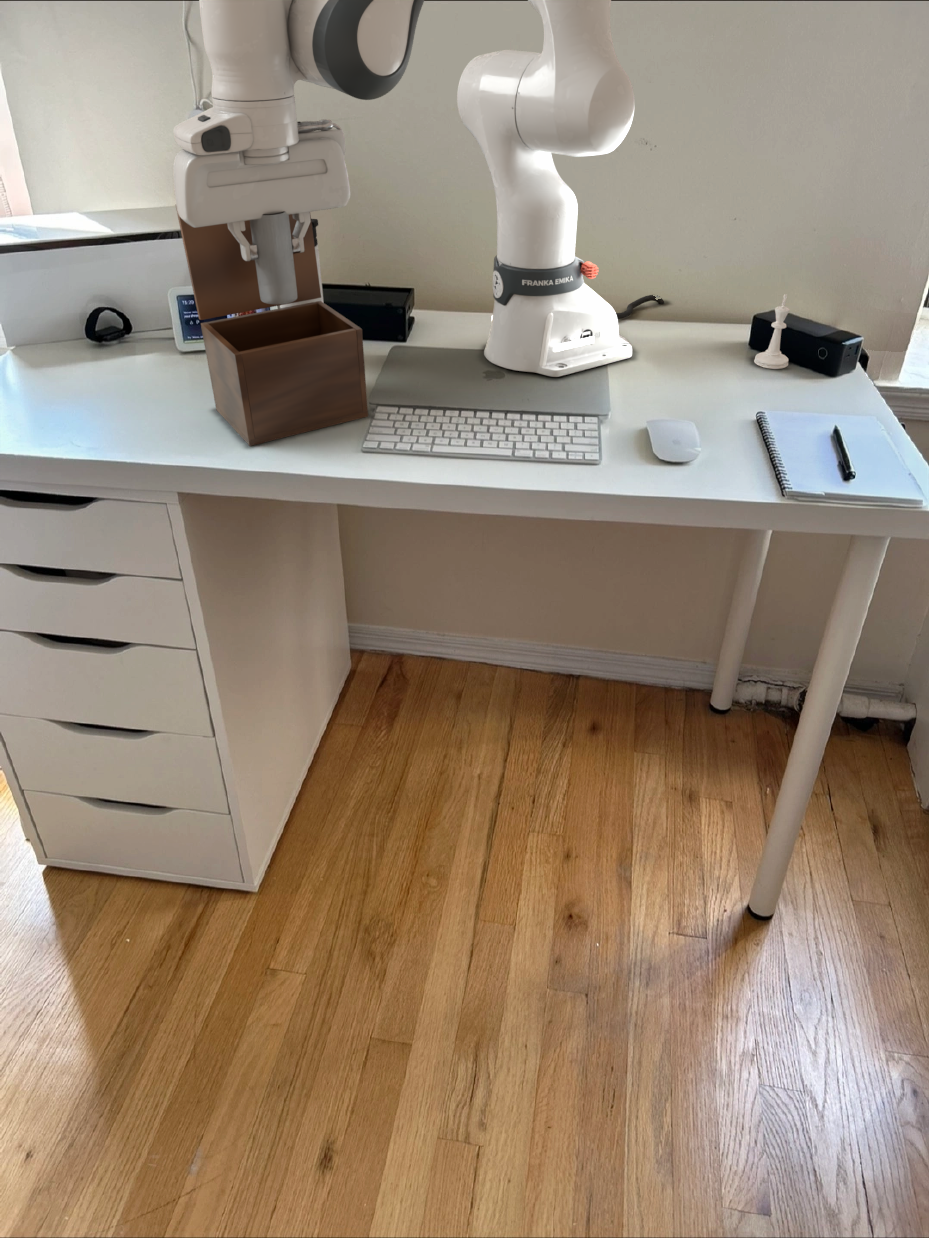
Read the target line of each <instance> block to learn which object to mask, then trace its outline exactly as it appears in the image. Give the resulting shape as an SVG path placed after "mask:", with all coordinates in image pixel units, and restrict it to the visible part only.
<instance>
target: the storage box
mask: <svg viewBox="0 0 929 1238" xmlns="http://www.w3.org/2000/svg"><path fill="white" fill-rule="evenodd" d="M200 327H201V328H200V329H201V333H202V334H201V335H202V339H203V344H204V350H205V356H206V361H207V367H208V372H209V377H210V383H211V389H212V394H213V400H214V405H215V410H216V411H217V413H219V415H220V416H222V418H223V419H224V420H225V421H226V422H227V423H228V425H230V426H231V428H232V429H233V430H234V431H235V432H236V433H237V434H238V436H240V438H241V439H243V440H244V441H245V443H246V444H247V445H248V446H249V447H252V446H256V445H261V444H264V443H269V442H272V441H276V440H280V439H283V438H287V437H291V436H296V435H300V434H304V433H307V432H312V431H315V430H320V429H325V428H327V427H332V426H335V425H336V426H337V425H339V424H343V423H347V422H352V421H355V420H360V419H363V418H367V417H369V410H368V409H369V408H368V407H369V406H368V395H367V382H366V381H367V380H366V379H367V378H366V367H365V353H364V339H363V329H362V328H361V327H360V326H358V325H357V324H355V323H354V322H353V321H351V320H350V319H348V318H346V317H345V316H344V315H343V314H341V313H339V312H338V311H336V310H335V309H333V308H332V307H330V306H329V305H327V304H326V303H323V302H322V301H317V302H311V303H306V304H301V305H295V306H290V307H285V308H280V307H279V308H274V309H269V310H263V311H258V312H253V313H249V314H243V315H238V316H232V317H226V318H221V319H216V320H211V321H205V322H200Z"/></svg>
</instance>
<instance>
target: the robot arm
mask: <svg viewBox="0 0 929 1238" xmlns="http://www.w3.org/2000/svg"><path fill="white" fill-rule="evenodd" d="M527 2H528V3H529V4H530V6H531V7H532V8H533V10H534V11H535V12H536V13H537V14H538V15H539V16H540V18H541V20H542V21H541V22H542V26H543V27H542V28H543V45H542V51H541V52H536V51H526V50H518V49H517V50H516V49H502V50H497V51H492V52H487V53H483V54H479V55H477V56H475V57H473V58H472V59H471V60H470V61H469V62H468V63H467V64H466V66H465V67H464V69H463V71H462V73H461V75H460V78H459V81H458V86H457V93H456V105H457V110H458V115H459V117H460V120H461V122H462V124H463V126H464V127H465V128H466V130H467V131H468V132H469V133H470V134H471V136H472V137H473V138H474V139H475V141H476V143H477V145H478V146H479V148H480V150H481V153H482V155H483V158H484V159H485V163H486V165H487V168H488V172H489V174H490V178H491V181H492V185H493V189H494V196H495V204H496V206H495V207H496V255H495V256H494V257H493V268H492V269H493V270H492V271H493V272H492V293H493V294H492V297H493V299H494V301H493V310H492V315H491V319H490V320H491V323H490V327H489V334H488V338H487V340H486V344H485V348H484V350H483V355H484V357H485V359H487V360H488V362H490V363H491V364H494V365H496V366H498V367H501V368H504V369H508V370H512V371H517V372H518V371H519V372H527V373H536V374H539V375H543V376H547V377H551V378H559V377H564V376H566V375H570V374H574V373H578V372H582V371H585V370H589V369H593V368H596V367H601V366H604V365H608V364H611V363H616V362H620V361H623V360H626V359H630V358H632V356H633V346H632V344H631V343H630V342H629V340H628V339H627V338H625V337H624V336H623V334H621V333H619V330H620V329H619V320H621V319H625V318H628V317H630V316H631V315H632V314H633V312H634V309H635V308H637V307H638V306H641V305H642V304H644V303H648V302H656V303H657V304H658V305H664V304H665V300H664V299H663V297H661V299H658V300H656V299H655V298H656V297H655V296H653V295H654V294H649V295H645V296H642V297H640V298H638V299H636V300H634V301H632V302H630V303H629V304H628V305H627V306H626V310H625V311H622V312H616V311H615V309H614V308H613V306H612V305H611V304H610V303H608V302H607V301H606V300H605V299H604V298H603V297H601V296H600V295H599V294H598V293H597V292H596V291H594V290H593V289H592V288H591V287H590V286H588V285H587V284H586V283H585V280H584V277H586V278H587V279H590V280H593V279H595V278H596V277H597V275H599V267H598V266H597V265H596V264H595V263H592V262H591V261H584V260H583V259H582V258H579V257H577V256H576V254H575V253H576V241H577V226H578V212H579V209H578V208H579V205H578V200H577V197H576V195H575V193H574V191H573V190H572V188H571V187H570V186H569V185H568V184H567V183H566V182H565V181H564V180H563V179H562V177H561V176H560V174H559V171H557V170H558V169H557V168H556V165H555V162H554V159H553V154H556V155H562V156H568V157H573V158H580V157H581V158H582V157H591V156H600V155H601V156H602V155H606V154H607V155H608V154H609V153H611V152H613V151H615V150H616V149H617V148H618V147H619V146H620V144H622V142H623V141H624V139H625V138H626V136H627V134H628V133H629V131H630V129H631V126H632V123H633V119H634V114H635V107H636V106H635V105H636V101H635V92H634V87H633V84H632V81H631V79H630V77H629V74H628V73H627V72H626V70H625V69H624V67H623V66H622V65H621V62H620V61H619V58H618V56H617V53H616V51H615V45H614V42H613V37H612V29H611V6H612V5H611V4H612V0H527ZM198 3H199V15H200V25H201V31H202V32H201V33H202V40H203V47H204V51H205V54H206V56H207V59H208V61H209V64H210V68H211V73H212V74H211V77H212V78H211V79H212V80H211V89H210V90H211V91H210V93H211V99H212V107H210V108H207V109H206V110H204V111H202V112H199V113H197V114H195V115H193V116H192V117H190V118H188V119H186V120H183V121H181V122H179V123H178V124H176V125H174V127H173V138H174V141H175V143H176V145H178V147H179V148H181V149H180V150H179V151H178V152H177V153H176V155H175V157H174V160H173V165H172V173H173V175H172V176H173V178H172V179H173V189H174V199H175V204H176V205H175V207H176V206H177V210H176V212H177V211H178V214H179V216H180V217H181V219H182V220H183V221H185V222H186V223H187V224H189V225H190V226H192V227H194V228H197V227H204V226H212V225H219V224H226V223H227V225H228V229H229V230H230V232H231V233H232V234H233V236H234V237H235V239H236V240H237V241H238V243H240V248H241V255H242V258H243V259H244V260H245V261H251V260H257V259H258V254H257V251H258V250H257V245H256V244H255V243H253V242H252V241H249V242H248V241H247V240H246V238H245V237H244V236H243V234H242V233H241V231H245V222H244V221H247V220H254V219H260V218H261V217H262V215H263V214H274V213H280V212H283V211H285V212H286V214H287V215H290V214H292V215H293V219H295V220H297V222H296V225H295V228H294V231H293V234H292V235H291V241H292V250H293V254H296V253H302V252H304V241H303V237H304V236H305V234H306V231H307V229H308V227H309V224H310V222H311V221H310V215H311V213H312V212H318V211H325V210H333V209H340V208H345V207H346V206H347V205H348V203H349V201H350V199H351V197H352V196H351V195H352V193H351V184H350V179H349V172H348V168H347V164H346V158H345V154H346V138H345V132H344V130H343V129H342V128H341V126H340V125H339V124H337V123H335V122H333V121H332V120H331V119H328V118H323V119H319V120H303V121H302V120H301V121H298V117H297V107H296V97H295V85H296V83H297V82H298V81H303V82H306V83H310V84H314V85H316V86H319V87H324V88H327V89H328V88H329V89H332V90H336V91H338V92H341V93H343V94H345V95H347V96H350V97H352V98H355V99H357V100H363V101H371V100H376V99H379V98H381V97H383V96H385V95H387V94H389V93H390V92H391V91H392V90H393V89H395V87H396V86H397V85H398V84H399V82H400V81H401V80H402V78H403V76H404V74H405V73H406V70H407V67H408V65H409V62H410V58H411V54H412V49H413V44H414V39H415V34H416V29H417V25H418V21H419V16H420V13H421V10H422V7H423V6H424V3H425V0H198Z"/></svg>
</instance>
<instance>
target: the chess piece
mask: <svg viewBox="0 0 929 1238" xmlns="http://www.w3.org/2000/svg"><path fill="white" fill-rule="evenodd" d="M787 297H788V294H783V296H782V300H781V305H778V306H776V307H775V308H774V312H775V313H774V314H775V321H773V322H772V323H771V326H770V327H772V328H774V330H773V333H772V337H771V339H770V341H769V345H768V348H767V349H766V350H765V351H762V352H759V353H756V355H755V356H754V359H753V362H754V364H755V365H757V366H759V367H761V368H764V369H769V370H770V369H771V370H780V369H785V368H787V367H788V366H789V358H788V357H787V356H786V355H785V354H783V353H782V351H781V350H780V349H781V340H782V339H781V338H782V337H781V336H782V330H783V329H786V328H787V323H785V322H784V321H785V320H786V318H787V316H788V314H789V313H790V308H789V307H788V306H786V302H787V299H788V298H787Z"/></svg>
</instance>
